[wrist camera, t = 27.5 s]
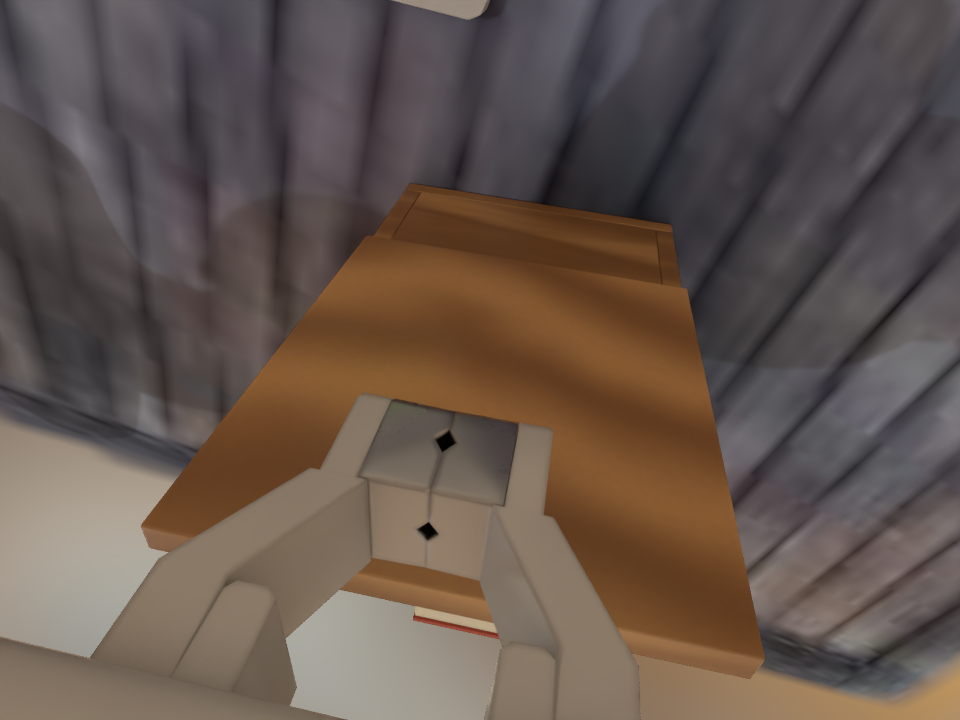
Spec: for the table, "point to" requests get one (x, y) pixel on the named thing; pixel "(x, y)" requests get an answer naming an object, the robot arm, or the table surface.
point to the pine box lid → (525, 399)
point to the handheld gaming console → (452, 6)
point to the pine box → (534, 233)
